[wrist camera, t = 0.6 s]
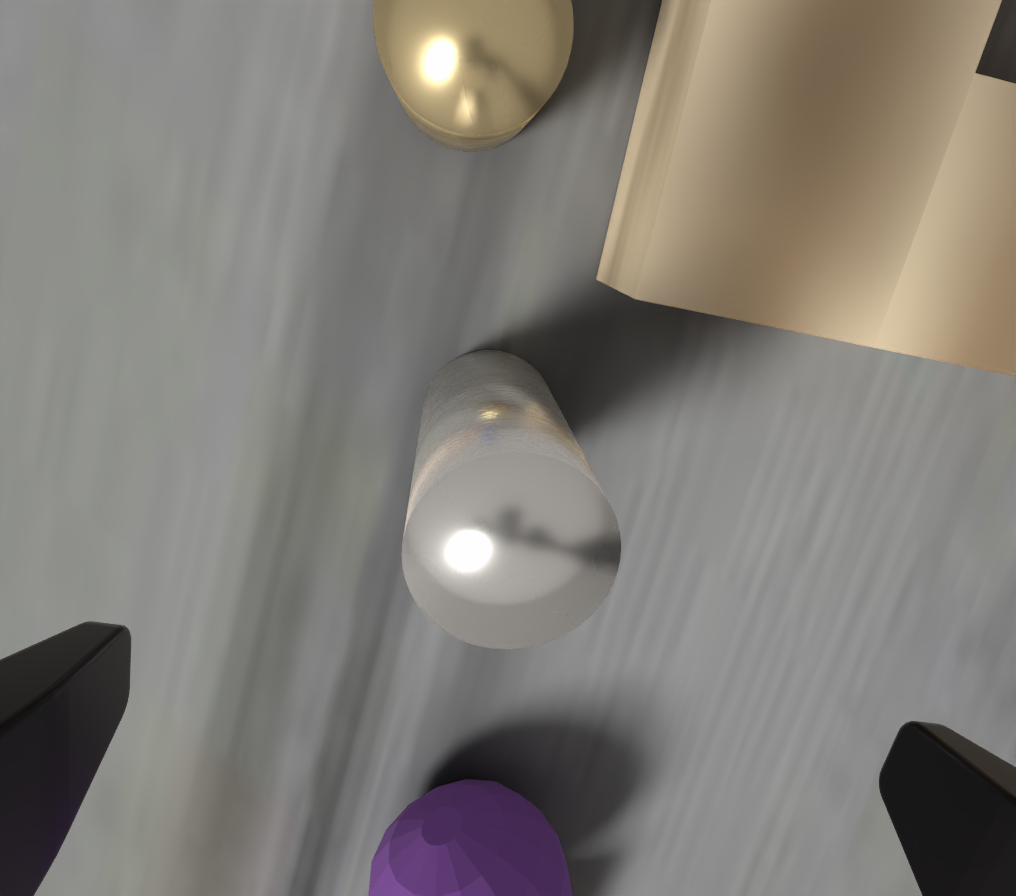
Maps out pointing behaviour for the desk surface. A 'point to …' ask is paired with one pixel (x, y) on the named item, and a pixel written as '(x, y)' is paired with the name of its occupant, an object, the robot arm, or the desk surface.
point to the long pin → (504, 510)
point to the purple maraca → (470, 846)
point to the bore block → (826, 175)
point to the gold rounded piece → (473, 64)
